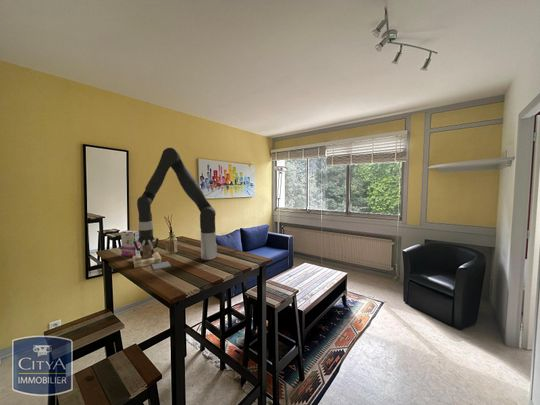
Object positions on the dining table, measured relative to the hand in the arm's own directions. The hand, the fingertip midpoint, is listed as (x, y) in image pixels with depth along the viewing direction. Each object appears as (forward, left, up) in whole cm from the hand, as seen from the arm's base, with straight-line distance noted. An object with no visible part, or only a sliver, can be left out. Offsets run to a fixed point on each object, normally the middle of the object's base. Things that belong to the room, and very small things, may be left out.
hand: (146, 255), depth 136 cm
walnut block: (0, 0, -4) cm, 4 cm away
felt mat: (-6, +12, -4) cm, 14 cm away
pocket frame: (0, 0, -4) cm, 4 cm away
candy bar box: (+7, -18, -4) cm, 20 cm away
